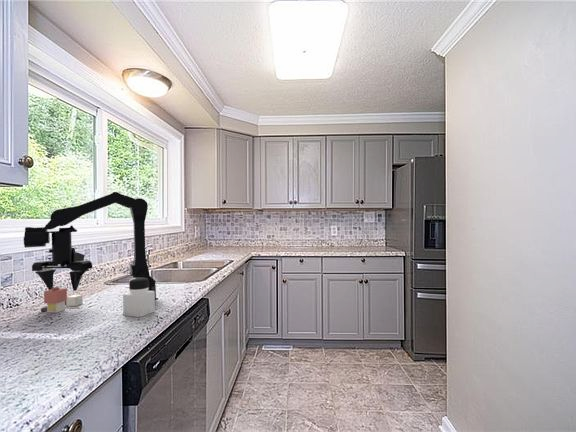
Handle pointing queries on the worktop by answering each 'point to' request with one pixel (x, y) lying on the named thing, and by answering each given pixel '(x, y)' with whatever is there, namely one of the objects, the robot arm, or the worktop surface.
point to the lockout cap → (55, 295)
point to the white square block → (74, 300)
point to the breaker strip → (46, 308)
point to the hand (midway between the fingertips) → (63, 290)
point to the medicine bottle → (138, 298)
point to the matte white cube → (55, 307)
